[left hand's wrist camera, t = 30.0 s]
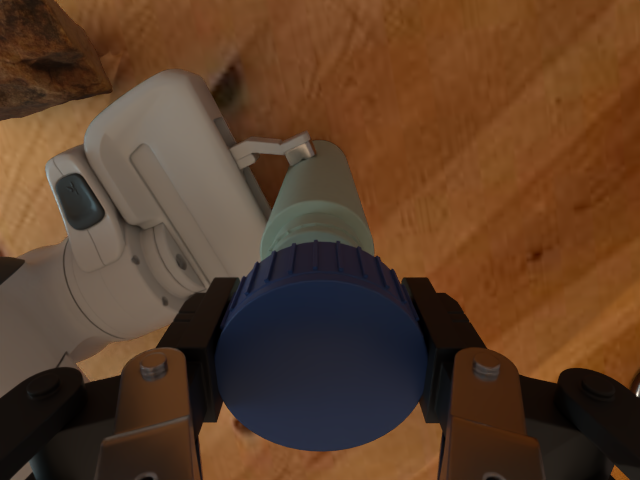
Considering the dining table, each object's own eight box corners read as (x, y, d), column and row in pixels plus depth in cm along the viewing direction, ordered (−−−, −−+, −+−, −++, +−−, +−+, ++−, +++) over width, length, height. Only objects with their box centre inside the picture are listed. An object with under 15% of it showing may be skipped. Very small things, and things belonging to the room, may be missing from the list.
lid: (253, 400, 12) (240, 464, 10) (209, 253, 10) (181, 296, 8) (416, 379, 12) (437, 441, 10) (403, 223, 10) (425, 259, 8)
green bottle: (288, 194, 32) (249, 327, 15) (292, 136, 30) (253, 210, 13) (344, 200, 32) (370, 337, 15) (351, 143, 30) (392, 224, 13)
